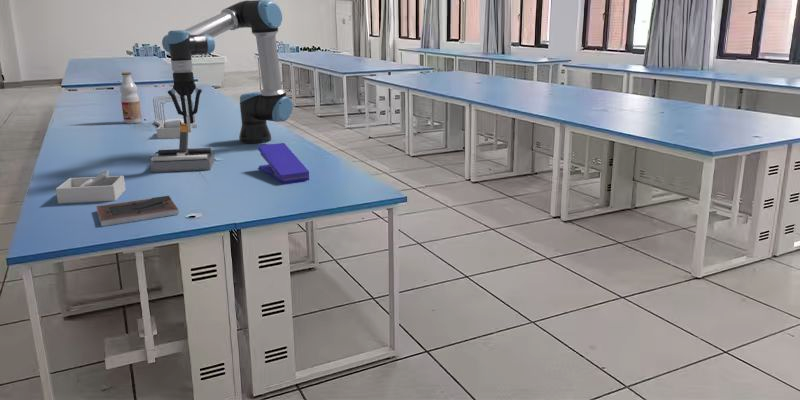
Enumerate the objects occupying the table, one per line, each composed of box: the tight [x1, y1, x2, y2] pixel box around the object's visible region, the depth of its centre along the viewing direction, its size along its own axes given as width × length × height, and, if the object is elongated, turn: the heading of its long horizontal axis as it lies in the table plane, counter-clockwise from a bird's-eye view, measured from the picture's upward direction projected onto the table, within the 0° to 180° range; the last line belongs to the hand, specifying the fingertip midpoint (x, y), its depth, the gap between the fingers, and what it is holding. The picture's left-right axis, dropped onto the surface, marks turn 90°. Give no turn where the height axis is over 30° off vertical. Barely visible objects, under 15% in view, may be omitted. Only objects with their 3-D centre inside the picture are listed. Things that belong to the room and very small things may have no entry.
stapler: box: [257, 142, 310, 184], centre depth 233 cm, size 12×28×10 cm, turn 32°
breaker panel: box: [150, 147, 216, 174], centre depth 245 cm, size 22×16×6 cm
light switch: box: [80, 169, 110, 187], centre depth 205 cm, size 8×6×14 cm
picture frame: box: [96, 195, 180, 227], centre depth 189 cm, size 16×2×22 cm
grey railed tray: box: [150, 147, 212, 162], centre depth 245 cm, size 21×15×2 cm
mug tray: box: [156, 123, 192, 140], centre depth 309 cm, size 14×16×5 cm
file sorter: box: [152, 93, 198, 128], centre depth 336 cm, size 25×17×16 cm
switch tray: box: [55, 175, 126, 204], centre depth 206 cm, size 18×14×5 cm
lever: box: [178, 123, 189, 154], centre depth 243 cm, size 3×7×13 cm, turn 10°
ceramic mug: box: [164, 120, 181, 128], centre depth 307 cm, size 11×8×8 cm
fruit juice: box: [119, 71, 143, 125], centre depth 343 cm, size 9×9×28 cm
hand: (190, 131), depth 242 cm, fingers closed
